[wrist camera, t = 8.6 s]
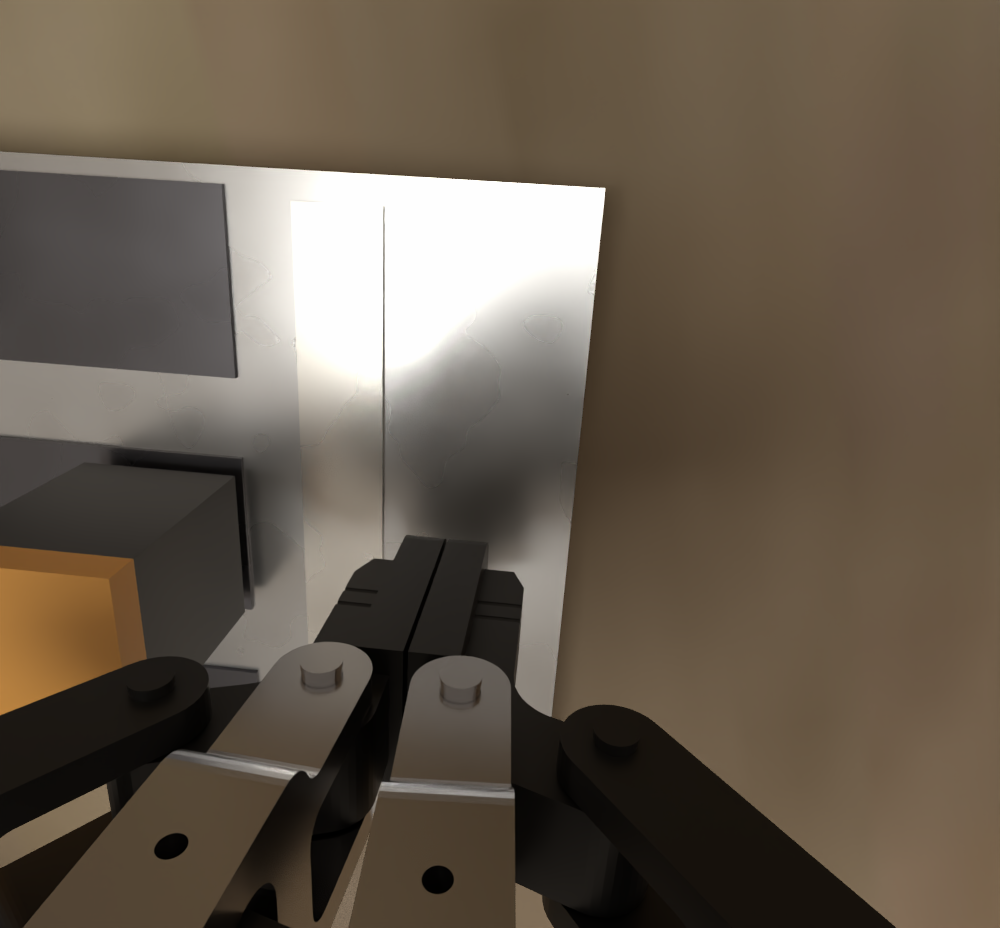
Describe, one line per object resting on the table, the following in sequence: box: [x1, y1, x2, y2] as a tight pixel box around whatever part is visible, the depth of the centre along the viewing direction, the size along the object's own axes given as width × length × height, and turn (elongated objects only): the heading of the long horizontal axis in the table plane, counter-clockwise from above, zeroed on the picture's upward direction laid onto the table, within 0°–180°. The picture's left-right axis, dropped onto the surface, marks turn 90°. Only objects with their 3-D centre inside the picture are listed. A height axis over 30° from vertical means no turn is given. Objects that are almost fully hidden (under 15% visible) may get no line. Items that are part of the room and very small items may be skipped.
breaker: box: [0, 462, 245, 715], centre depth 12 cm, size 3×3×4 cm
